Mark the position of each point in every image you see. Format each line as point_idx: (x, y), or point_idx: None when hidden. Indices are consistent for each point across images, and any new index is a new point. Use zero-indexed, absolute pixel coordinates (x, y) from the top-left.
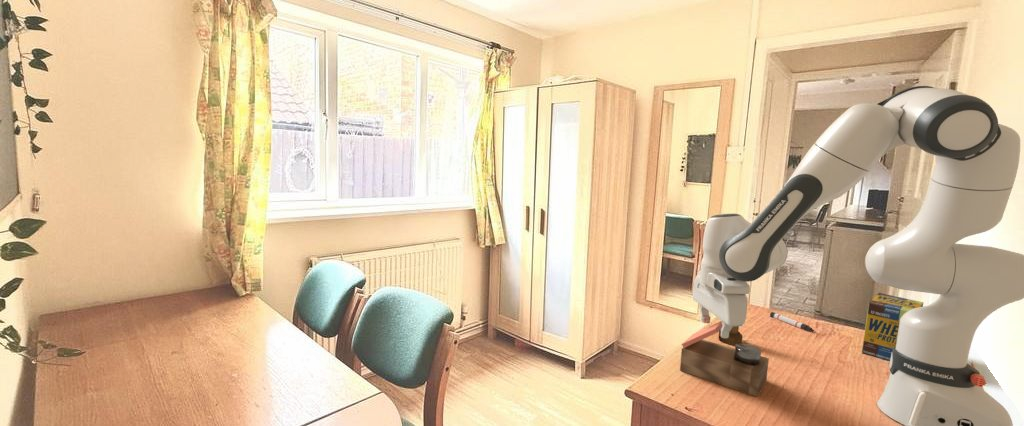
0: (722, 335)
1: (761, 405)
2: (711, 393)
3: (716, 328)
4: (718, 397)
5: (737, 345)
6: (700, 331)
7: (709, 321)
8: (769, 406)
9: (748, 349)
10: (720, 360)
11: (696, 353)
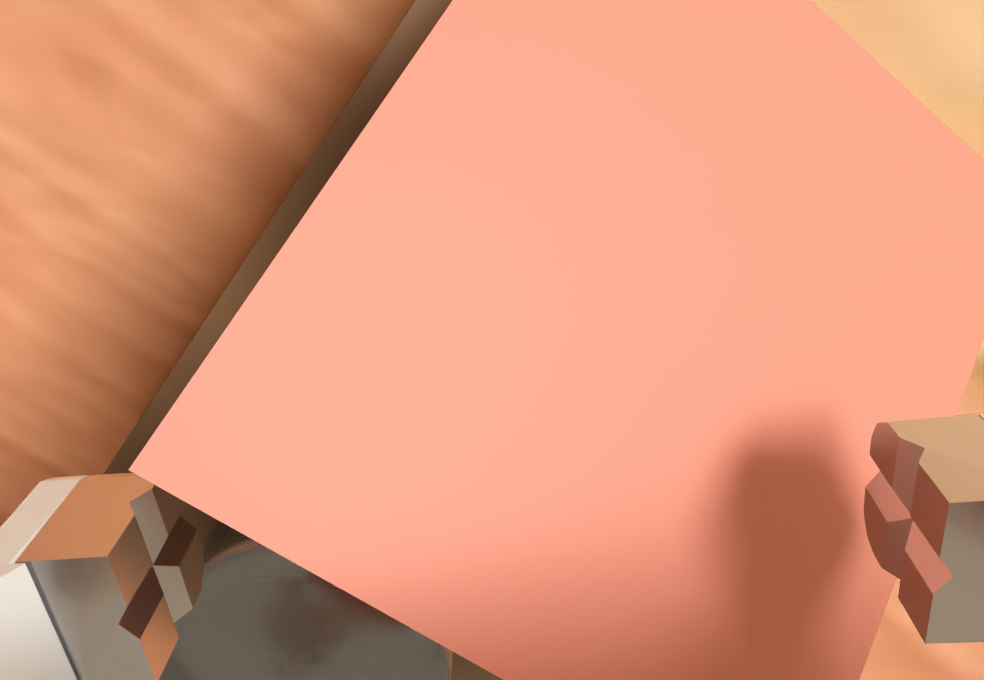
0: (24, 511)
1: (17, 406)
2: (77, 51)
3: (219, 519)
4: (20, 94)
5: (360, 620)
6: (898, 301)
7: (879, 549)
8: (24, 454)
9: None
10: (229, 296)
11: (398, 28)
